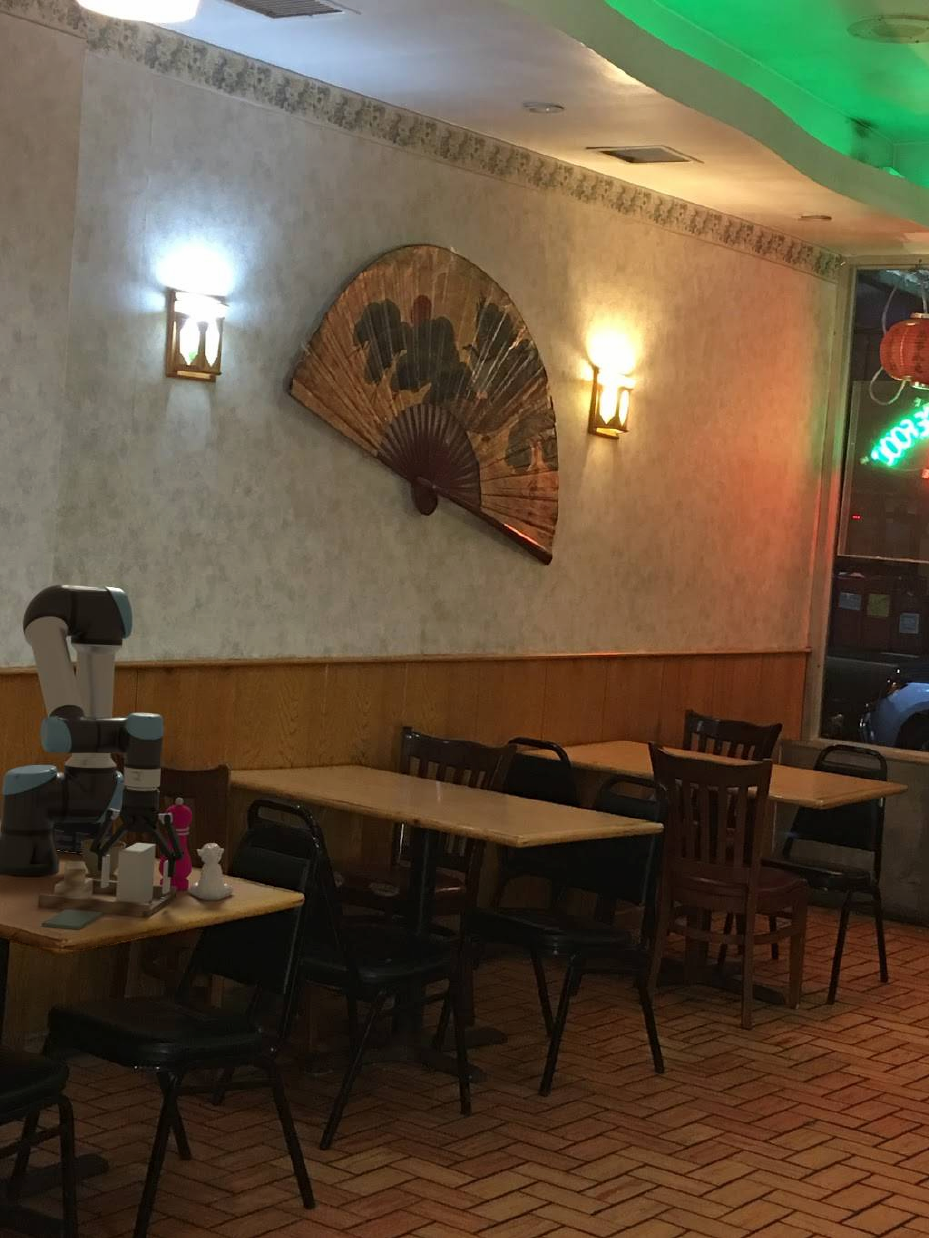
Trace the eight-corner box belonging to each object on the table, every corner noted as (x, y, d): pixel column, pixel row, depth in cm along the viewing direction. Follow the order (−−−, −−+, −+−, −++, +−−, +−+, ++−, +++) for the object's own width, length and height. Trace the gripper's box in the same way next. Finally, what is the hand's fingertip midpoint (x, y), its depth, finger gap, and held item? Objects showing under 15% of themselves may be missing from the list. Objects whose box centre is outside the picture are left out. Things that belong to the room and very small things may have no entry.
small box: (112, 852, 401) (115, 803, 400) (98, 857, 394) (101, 807, 394) (65, 846, 405) (68, 797, 404) (50, 850, 398) (52, 801, 398)
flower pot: (85, 879, 368) (87, 847, 367) (74, 870, 376) (76, 839, 376) (129, 878, 372) (131, 846, 372) (117, 869, 381) (119, 838, 381)
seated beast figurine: (233, 894, 363) (236, 840, 362) (232, 902, 354) (235, 847, 354) (189, 892, 362) (192, 838, 361) (187, 900, 353) (191, 845, 353)
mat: (41, 925, 322) (41, 922, 322) (66, 911, 335) (66, 908, 335) (78, 929, 321) (79, 926, 321) (102, 915, 334) (102, 912, 334)
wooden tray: (38, 906, 338) (38, 894, 338) (72, 888, 358) (73, 876, 357) (147, 917, 335) (147, 905, 335) (176, 898, 355) (176, 886, 355)
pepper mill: (183, 892, 361) (189, 801, 360) (152, 889, 362) (157, 798, 362) (195, 886, 368) (200, 797, 367) (164, 883, 369) (170, 794, 369)
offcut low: (53, 904, 342) (54, 885, 342) (68, 895, 352) (70, 876, 352) (77, 906, 342) (78, 887, 342) (91, 896, 352) (93, 878, 352)
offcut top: (64, 885, 343) (65, 868, 343) (64, 877, 351) (65, 861, 350) (84, 885, 344) (85, 868, 344) (83, 877, 352) (84, 861, 351)
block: (115, 910, 340) (118, 852, 339) (134, 898, 352) (137, 842, 351) (134, 911, 339) (137, 853, 339) (152, 900, 351) (155, 844, 351)
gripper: (77, 785, 342) (71, 887, 343) (193, 794, 340) (187, 898, 340) (90, 780, 350) (84, 880, 351) (203, 790, 347) (197, 891, 348)
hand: (135, 889), depth 345 cm, fingers open, 12 cm apart
